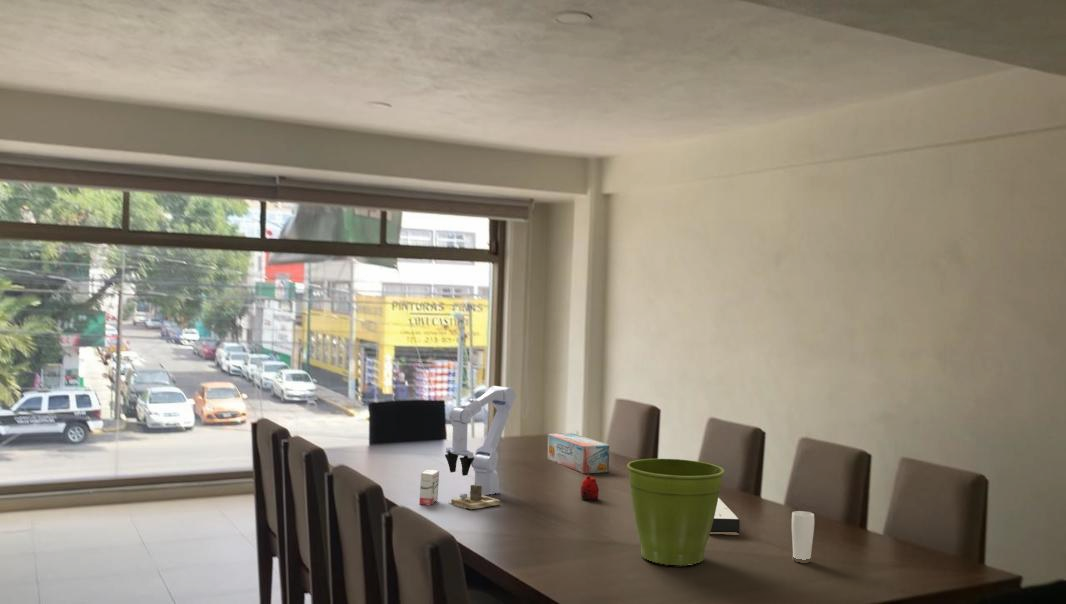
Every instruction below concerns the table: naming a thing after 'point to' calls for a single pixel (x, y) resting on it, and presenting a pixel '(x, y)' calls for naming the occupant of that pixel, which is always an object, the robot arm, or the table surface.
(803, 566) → the table surface
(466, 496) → the boss plate
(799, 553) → the drinking glass
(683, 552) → the plant pot
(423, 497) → the ink box
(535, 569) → the table surface
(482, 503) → the panel
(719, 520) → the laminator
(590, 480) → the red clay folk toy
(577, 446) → the soda box
